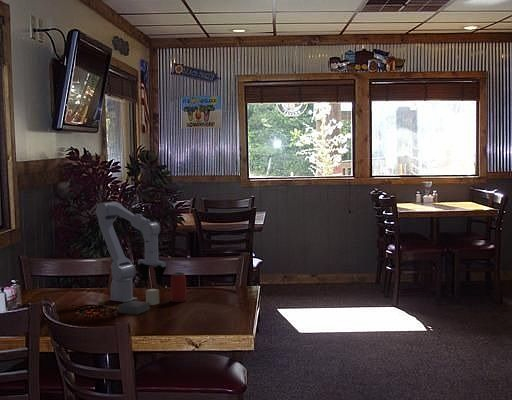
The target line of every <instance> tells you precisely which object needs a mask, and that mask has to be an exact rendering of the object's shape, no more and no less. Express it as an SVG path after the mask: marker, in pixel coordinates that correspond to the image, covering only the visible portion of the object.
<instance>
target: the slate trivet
mask: <svg viewBox="0 0 512 400" xmlns="http://www.w3.org/2000/svg"><path fill="white" fill-rule="evenodd" d="M150 306H151V305H150V303H149V302H146V301H138V300H137V301H136V300H131V301H127V302H123V303H121V304H118V305H117V309H118V313H119V314H129V315H139V314H142V313H144V312H147V311H150V308H151V307H150Z"/></svg>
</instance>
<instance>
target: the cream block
mask: <svg viewBox="0 0 512 400" xmlns="http://www.w3.org/2000/svg"><path fill="white" fill-rule="evenodd" d="M145 302H149V303H150V306H155V305H159V304H160V290H159V289H158V288H157V289H156V288H150V289H146V290H145Z"/></svg>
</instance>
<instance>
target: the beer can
mask: <svg viewBox="0 0 512 400" xmlns="http://www.w3.org/2000/svg"><path fill="white" fill-rule="evenodd" d="M186 300H187V277H186V275H185V273H184V272H173V273H171V276H170V301H171V302H173V303H184V302H186Z"/></svg>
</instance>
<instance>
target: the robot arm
mask: <svg viewBox="0 0 512 400" xmlns="http://www.w3.org/2000/svg"><path fill="white" fill-rule="evenodd" d="M95 215H96V217H97V221H98V226H99V228H100V229H99V230H100V232H101V234H102V237H103V238H104V239H103V240H104V241H105V244H106V246H107V249H108V252H109V254H110V257H111V259H112V263H111V264H110V269H111V270H110V271H111V277H112V279H113V280H112V281H111V283H110V298H109V300H110V301H113V302H114V301H115V302H122V303H126V302H129V301H136V300H137V299H138V298H137V297H135V296H134V297H133V295H134V294H133V291H134V290H133V279H134V277H135V275H136V272H137V270H136V267H135V265H134V264H133V263H132V261H131V259H129V258H128V257H127V256H125V253H124V251H123V248H122V245H121V244H120V240H119V238H118V235H117V232H116V231H115V228H114V225H113V224H114V222H115V221H116V219H117V217H121V218H123V219H125V220H127V221H129V222H130V225H131V226H132V227H133V228H135V229H136V230H139V231H140V232H141V234H142V236H143V238H142V239H143V241H144V259H142V258H139V259H137V264H138V265H137V268H138V270H139V271H140V274H141V277H142V280H143V282H144V283H146V282H148V281H149V270H150V266H153V270H154V274H155V282H156V283H155V284H161V283H162V278H163V276H164V273H165V271H166V269H167V262H166V261H162V260H160V259H159V234H160V232H161V231H162V230H161V229H162V228H161V226H160V224H159V222H157V221H151V219H149V218H146V217H144V216H143V214H141V213H136V214H134V213H133V212H132V211H130V210H128V209H127V208H126V207H124V206H123V205H122V203H120V202H118V201H110V202H109V201H108V202H107V201H106V202H99V203H98V204H97V206H96V209H95Z"/></svg>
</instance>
